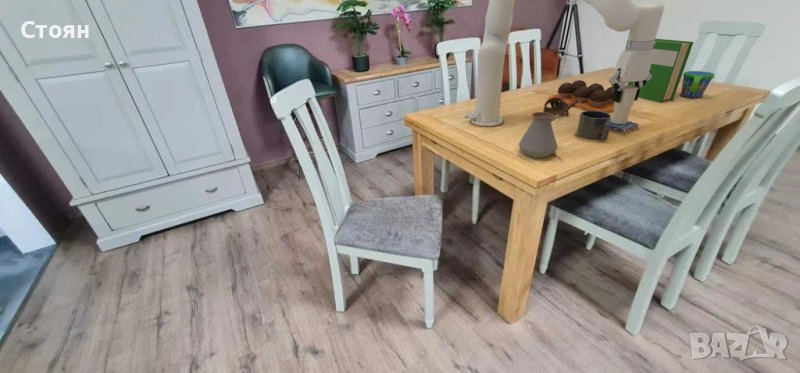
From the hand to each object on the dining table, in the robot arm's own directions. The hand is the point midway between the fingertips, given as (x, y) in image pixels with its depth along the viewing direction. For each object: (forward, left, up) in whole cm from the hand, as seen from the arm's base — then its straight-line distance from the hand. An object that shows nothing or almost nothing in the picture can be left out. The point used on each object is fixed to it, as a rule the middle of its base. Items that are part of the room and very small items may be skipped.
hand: (624, 100), depth 118 cm
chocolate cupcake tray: (+9, +31, -11) cm, 34 cm away
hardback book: (+40, +31, -11) cm, 52 cm away
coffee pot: (-34, -12, -11) cm, 37 cm away
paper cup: (0, 0, -8) cm, 8 cm away
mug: (-14, -7, -10) cm, 19 cm away
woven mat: (0, 0, -11) cm, 11 cm away
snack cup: (+57, +26, -11) cm, 63 cm away
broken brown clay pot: (-12, +21, -11) cm, 26 cm away
